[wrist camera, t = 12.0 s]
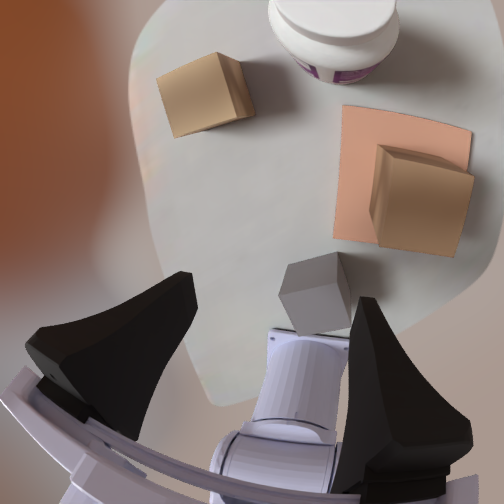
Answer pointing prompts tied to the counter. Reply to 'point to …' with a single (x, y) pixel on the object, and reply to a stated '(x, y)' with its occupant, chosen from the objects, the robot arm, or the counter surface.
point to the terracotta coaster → (364, 156)
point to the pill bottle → (336, 35)
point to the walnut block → (418, 201)
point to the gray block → (317, 295)
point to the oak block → (205, 94)
